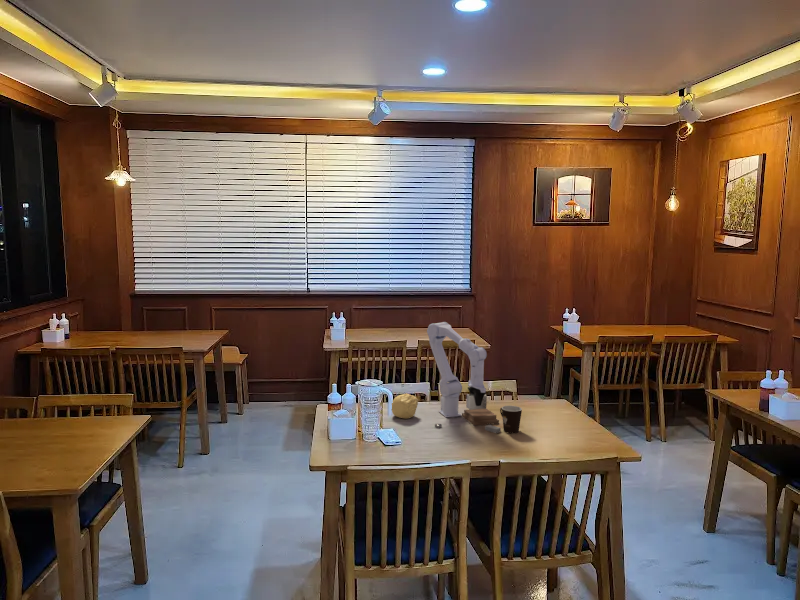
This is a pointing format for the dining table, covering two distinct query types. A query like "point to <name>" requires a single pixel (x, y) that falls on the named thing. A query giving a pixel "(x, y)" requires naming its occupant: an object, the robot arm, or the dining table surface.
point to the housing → (472, 404)
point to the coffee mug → (511, 418)
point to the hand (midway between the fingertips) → (476, 404)
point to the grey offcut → (492, 428)
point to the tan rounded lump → (404, 406)
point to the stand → (480, 417)
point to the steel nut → (438, 425)
